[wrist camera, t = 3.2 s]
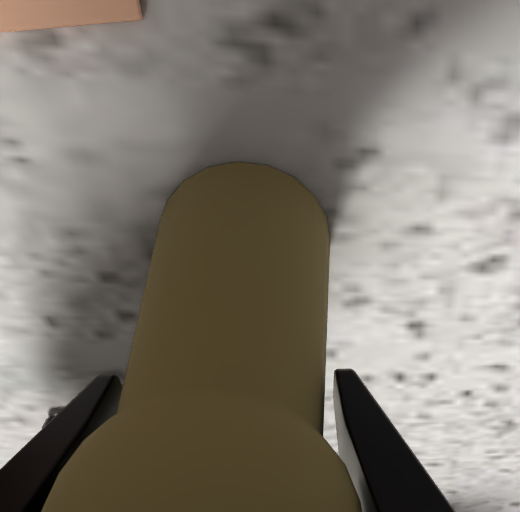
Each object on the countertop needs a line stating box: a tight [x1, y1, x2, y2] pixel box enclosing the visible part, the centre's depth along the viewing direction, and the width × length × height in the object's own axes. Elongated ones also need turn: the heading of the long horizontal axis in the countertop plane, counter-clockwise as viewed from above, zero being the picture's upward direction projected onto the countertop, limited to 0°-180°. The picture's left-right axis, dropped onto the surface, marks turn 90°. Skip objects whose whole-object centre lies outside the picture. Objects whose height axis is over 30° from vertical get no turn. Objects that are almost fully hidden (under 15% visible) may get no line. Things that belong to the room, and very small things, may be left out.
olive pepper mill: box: [41, 162, 362, 512], centre depth 10 cm, size 6×6×11 cm
